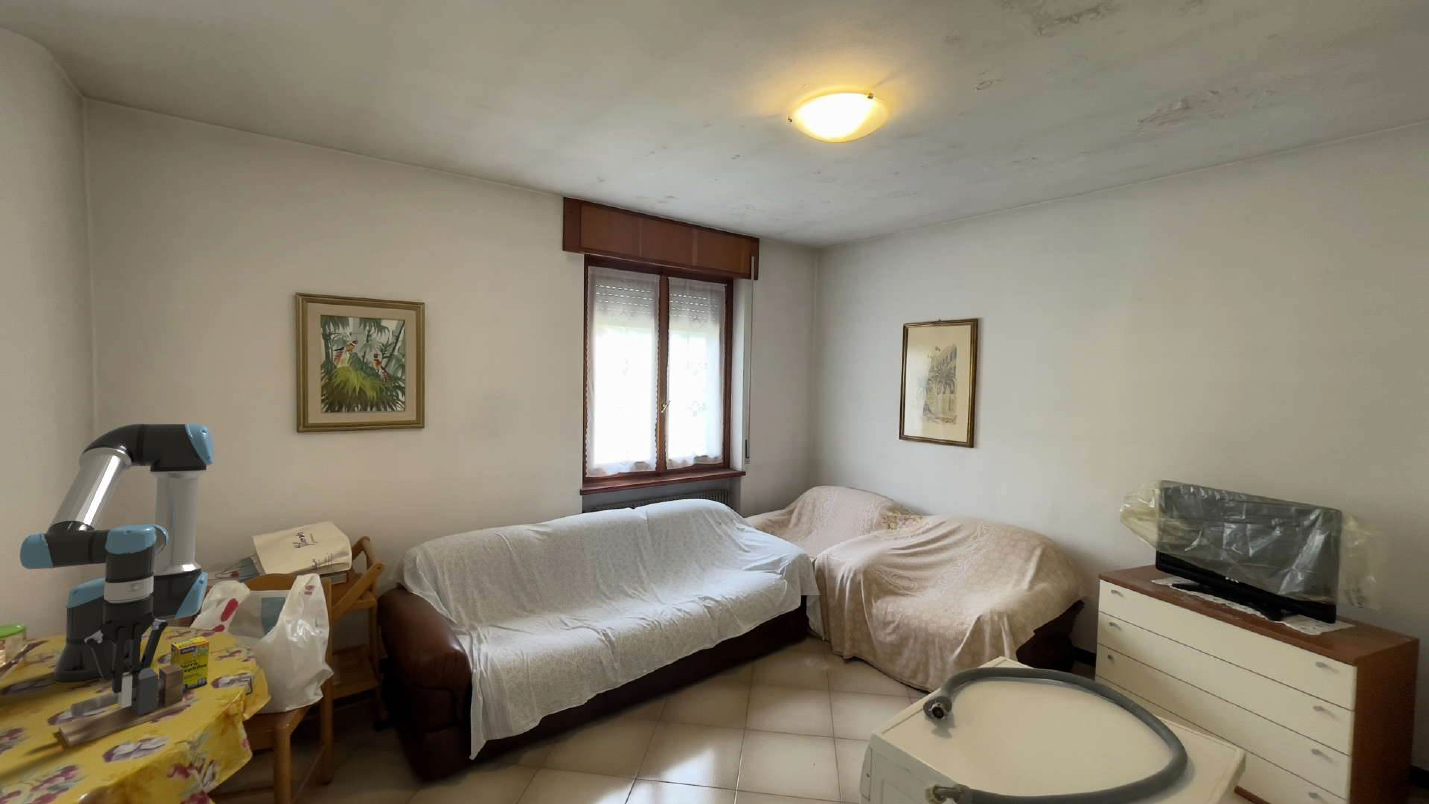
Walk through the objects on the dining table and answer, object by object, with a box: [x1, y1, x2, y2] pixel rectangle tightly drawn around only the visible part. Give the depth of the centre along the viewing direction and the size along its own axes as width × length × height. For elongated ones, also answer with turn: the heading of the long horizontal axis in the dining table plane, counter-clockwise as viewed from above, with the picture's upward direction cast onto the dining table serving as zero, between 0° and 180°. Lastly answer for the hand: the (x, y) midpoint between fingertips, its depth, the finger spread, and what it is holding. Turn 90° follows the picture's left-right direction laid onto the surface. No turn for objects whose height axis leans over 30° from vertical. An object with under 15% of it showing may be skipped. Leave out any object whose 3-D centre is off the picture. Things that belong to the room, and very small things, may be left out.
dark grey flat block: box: [129, 666, 159, 716], centre depth 129 cm, size 3×8×8 cm, turn 58°
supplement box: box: [169, 635, 210, 692], centre depth 141 cm, size 6×6×11 cm
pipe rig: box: [58, 664, 187, 748], centre depth 126 cm, size 18×10×8 cm, turn 148°
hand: (124, 704), depth 123 cm, fingers closed
